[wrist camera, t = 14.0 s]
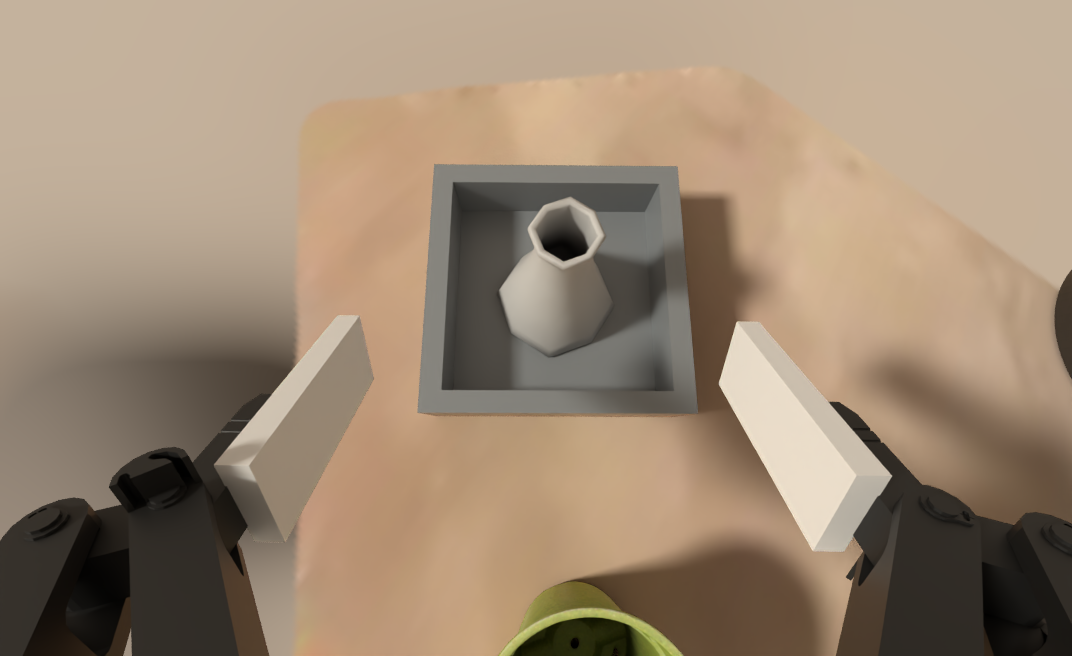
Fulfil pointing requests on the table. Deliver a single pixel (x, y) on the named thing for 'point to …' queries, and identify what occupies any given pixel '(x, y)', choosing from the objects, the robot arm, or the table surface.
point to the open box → (626, 268)
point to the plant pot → (584, 627)
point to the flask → (558, 281)
